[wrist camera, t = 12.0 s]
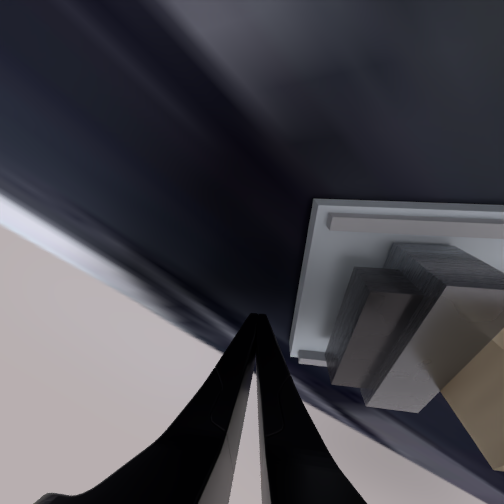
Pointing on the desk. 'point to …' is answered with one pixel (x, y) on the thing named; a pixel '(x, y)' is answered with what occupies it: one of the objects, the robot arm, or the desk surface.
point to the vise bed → (376, 253)
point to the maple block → (482, 400)
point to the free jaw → (414, 324)
